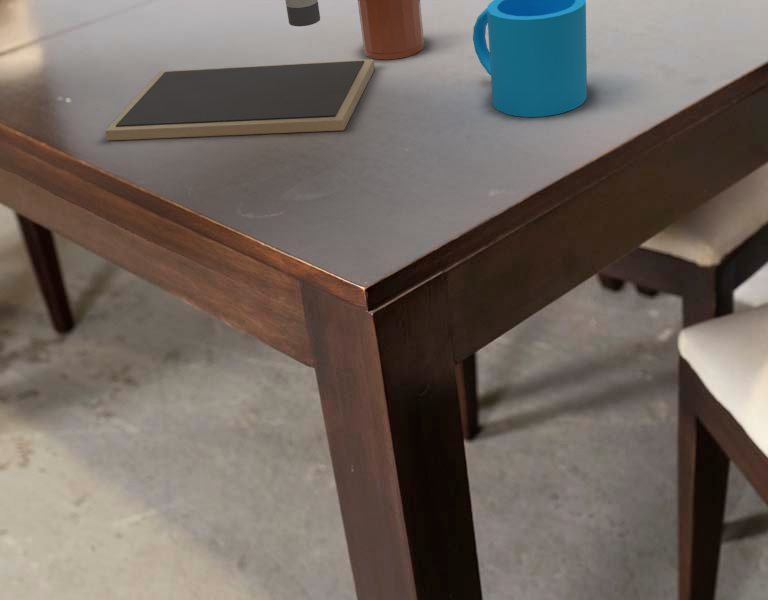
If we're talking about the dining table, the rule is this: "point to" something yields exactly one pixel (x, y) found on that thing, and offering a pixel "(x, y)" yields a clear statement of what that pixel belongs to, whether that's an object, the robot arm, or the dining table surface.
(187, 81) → the small chalkboard
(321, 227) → the dining table surface
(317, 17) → the stylus
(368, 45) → the pen cup
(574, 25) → the mug
